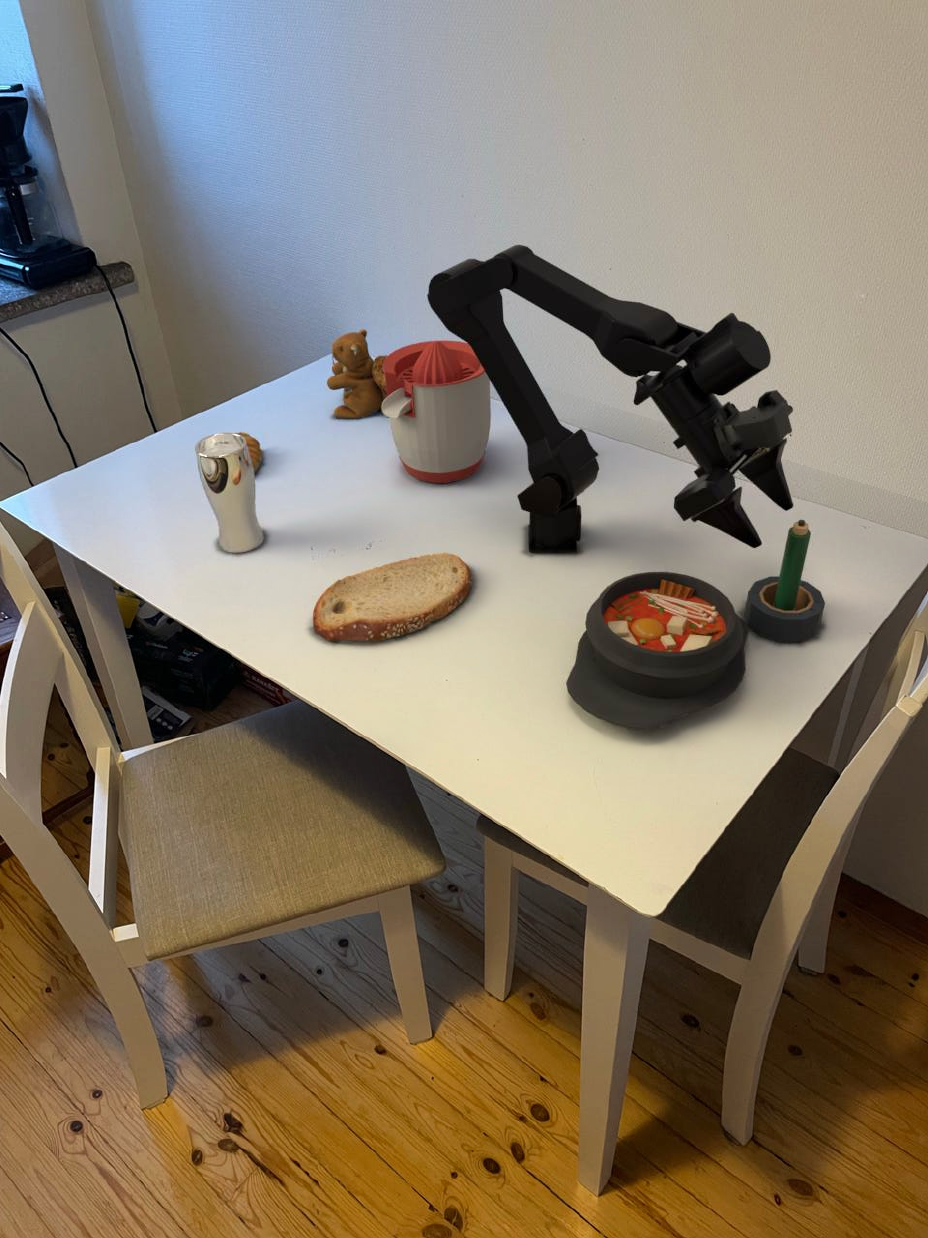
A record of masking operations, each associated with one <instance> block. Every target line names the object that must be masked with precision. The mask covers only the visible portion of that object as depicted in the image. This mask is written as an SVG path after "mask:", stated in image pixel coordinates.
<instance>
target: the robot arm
mask: <svg viewBox="0 0 928 1238" xmlns="http://www.w3.org/2000/svg"><path fill="white" fill-rule="evenodd" d="M504 289H506V290H508V291H510V292H512V293H513V294H515V295H517V296H519V297H520V298H522V299H524V300H525V301H527V302H529V303H531V304H533V305H534V306H536V307H537V308H539V309H541V310H543V311H544V312H546V313H548V314H550V315H551V316H553V317H555V318H556V319H558V320H559V321H561V322H563V323H565V324H567V325H568V326H570V327H571V328H574V329H576V330H577V331H579V332H580V333H582V334H583V335H585V336H587V337H588V338H589V339H590V340H591V341H593V344H594V345H595V347H596V348H597V350H598V352H599V354H600V355H601V357H603V358H604V359H605V360H606V361H608V362H609V363H610V364H611V365H612V366H614V367H615V368H616V369H617V370H618V371H619V372H621V373H622V374H624V375H625V376H628V377H631V378H637V380H636V381H635V384H636V387H635V388H636V389H635V393H634V397H633V404H634V405H635V406H640V405H641V404H642V403H644V402H645V401H646V400H648V399H649V398H650V399H651V400H652V401H653V403H654V404H655V406H656V407H657V408H658V409H659V412H660V413H661V414H662V415H663V417H664V418H665V419H666V421H667V422H668V424H669V426H671V428H672V430H673V431H674V433H675V434H676V435H677V437H676V438H675V440H673V442H672V444H673V445H674V447H675V448H676V449H677V450H679V449H681V448H682V447H684V446H685V448H686V450H687V451H688V452H689V454H690V455H691V456H692V458H693V460H694V461H695V463H696V464H697V465H698V467H697V468H696V469H695V470H694V471H693V473H694V475H695V476H696V479H694V480H693V481H691V482H689V483H687V484H686V485H685V486H684V488H682V490H679V492H678V493H677V494H676V495H675V496H674V498H673V499H674V500H673V509H674V510H675V512H676V513H677V515H678V516H679V517H680V519H681V521H683V522H686V521H687V520H689V519H690V520H691V521H692V522H693V523H696V522H698V521H699V522H701V523H703V524H705V525H708V526H710V527H712V528H714V529H717V530H719V531H721V532H723V533H725V534H727V535H728V536H730V537H732V538H734V539H735V540H738V541H740V542H741V543H743V544H745V545H747V546H748V547H750V548H752V549H756V548H759V547H761V546H762V545H763V542H762V539H761V537H760V536H759V533H758V531H757V529H756V528H755V526H754V524H753V522H752V521H751V519H750V517H749V515H748V514H747V513H746V511H745V509H744V508H743V505H742V503H741V499H742V492H743V486H742V485H740V486H739V487H737V485H736V478H735V476H734V475H735V474H736V473H737V472H738V471H739V472H740V473H741V474H742V475H743V476H744V477H745V478H746V479H748V480H749V481H750V482H751V483H752V484H753V485H754V486H755V487H757V489H758V490H760V491H761V492H762V493H763V494H764V495H765V496H767V498H769V500H771V501H772V502H773V503H775V504H776V505H777V506H778V507H779V508H781V509H782V510H784V511H785V512H787V511H789V510H792V509H793V508H794V502H793V499H792V495H791V491H790V488H789V485H788V482H787V479H786V475H785V471H784V466H783V463H782V462H783V461H782V457H783V453H784V449H785V446H786V444H787V443H788V438H787V437H786V436H787V435H789V434H791V433H792V432H793V428H792V424H791V420H790V418H789V417H790V415H791V414H792V413H793V411H794V408H793V406H792V405H790V404H788V403H789V402H788V401H787V399H785V398H784V396H783V395H782V393H780V392H779V391H778V389H774V390H769V391H765V392H764V393H763V394H762V395H761V396H760V397H758V400H757V406H756V405H752V406H751V407H749V409H746V410H741V411H740V410H739V409H738V408H737V406H736V405H735V404H734V403H731V402H730V401H727V402H726V403H724V404H722V403H721V402H720V400H719V399H718V397H717V396H719V397H720V396H725V395H728V394H729V393H731V392H732V391H733V390H735V389H736V388H737V389H738V387H740V386H741V385H743V384H744V383H746V382H747V381H749V380H751V379H752V378H753V377H755V376H756V375H759V374H760V373H762V371H764V370H766V369H768V367H769V366H770V364H771V360H772V355H771V350H770V347H769V344H768V341H767V340H766V338H765V336H764V335H763V334H762V332H761V331H760V330H757V329H756V328H755V327H753V326H752V325H751V324H750V323H748V322H746V321H742V320H739V319H738V317H737V316H736V315H735V313H734V312H730V313H729V314H727V315H725V316H724V317H723V318H722V319H720V320H719V321H718V322H716V323H715V324H714V325H713V326H712V328H711V329H710V330H708V331H707V332H706V331H703V330H701V329H698V328H695V327H693V326H690V325H687V324H684V323H682V322H679V321H677V320H676V319H675V318H674V316H673V315H671V314H670V313H669V312H668V311H666V310H663V309H660V308H657V307H654V306H652V305H649V304H646V303H643V302H639V301H630V300H622V299H617V298H615V297H612V296H609V295H607V294H606V293H604V292H602V291H601V290H598V289H597V288H595V287H594V286H592V285H590V284H588V283H586V282H585V281H583V280H581V279H579V278H578V277H576V276H574V275H572V274H570V273H569V272H567V271H565V270H563V269H562V268H559V266H557V265H554V264H553V263H551V262H550V261H547V260H546V259H544V258H542V257H541V256H539V255H537V254H535V253H534V252H533V250H532V249H531V248H530V247H529V246H527V245H524V244H523V245H522V244H515V245H514V244H513V246H510V247H509V248H506V249H505V250H502V251H500V252H498V253H497V254H495V255H493V257H491V258H488V259H487V260H485V261H484V260H479V259H476V258H467V259H465V260H463V261H461V262H459V263H457V264H455V265H452V266H450V267H449V268H447V269H445V270H443V271H440V272H439V273H436V274H434V275H433V277H432V278H431V279H430V282H429V285H428V293H427V294H426V297H427V301H428V304H429V306H430V308H431V310H432V311H433V312H434V314H435V315H436V317H437V319H439V320H440V323H442V325H443V326H444V327H445V329H446V330H447V331H448V332H450V333H451V334H453V335H454V336H456V337H457V338H459V339H461V340H463V342H464V343H468V344H469V345H470V346H471V348H472V350H473V351H474V353H475V355H476V357H477V358H478V360H479V362H480V364H481V365H482V367H483V369H484V371H485V372H486V374H487V376H488V378H489V379H490V384H492V386H493V388H494V390H495V391H496V393H497V396H498V397H499V398H500V400H501V401H502V404H503V406H504V407H505V409H506V411H507V413H508V414H509V416H510V418H511V420H512V422H513V424H514V425H515V426H516V428H517V430H518V432H519V433H520V436H521V437H522V439H523V441H524V443H525V445H526V453H527V454H526V455H527V471H528V473H529V475H530V477H531V480H532V483H531V484H530V485H528V486H527V487H526V488H525V489H523V490H522V491H521V492H519V494H517V500H518V502H519V506H520V509H521V510H522V511H524V512H527V513H529V514H528V517H529V518H528V519H529V520H528V521H529V524H528V532H527V533H528V534H527V535H528V536H527V537H528V539H527V540H528V543H527V546H528V549H527V550H528V552H529V553H577V552H578V542H580V540H581V539H582V506H581V505H580V504H578V497H579V496H580V495H581V494H583V493H584V492H585V491H586V490H587V489H588V488H589V487H590V486H592V485H593V484H594V483H595V481H597V479H598V475H599V471H600V466H599V465H600V464H599V462H598V460H597V457H598V456H599V453H598V452H597V451H596V450H595V449H594V447H593V446H592V444H591V443H590V440H589V438H588V435H587V433H586V432H585V431H584V429H582V428H579V429H578V430H576V431H575V432H573V431H572V430H570V429H568V428H567V427H565V426H564V425H563V424H562V423H561V422H560V421H559V419H558V417H557V415H556V413H555V412H554V410H553V408H552V406H551V405H550V402H549V401H548V399H547V397H546V396H545V394H544V392H543V390H542V389H541V386H540V385H539V383H538V381H537V380H536V378H535V376H534V374H533V373H532V371H531V369H530V367H529V366H528V364H527V362H526V359H525V358H524V357H523V355H522V353H521V351H520V349H519V347H518V345H517V344H516V342H515V341H514V339H513V337H512V335H511V333H510V332H509V330H508V328H507V326H506V323H505V320H504V303H503V301H504V300H503V294H502V293H501V291H502V290H504ZM681 361H684V362H685V365H683V366H682V365H680V364H679V363H681ZM650 372H656V374H655V375H649V373H650ZM639 377H640V378H639Z"/></svg>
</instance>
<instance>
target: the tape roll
mask: <svg viewBox="0 0 928 1238" xmlns="http://www.w3.org/2000/svg"><path fill="white" fill-rule="evenodd" d="M778 580H779V575H778V576H767V577H765V578H761V579H759V580H756V581H754V583H753V584H752V586H751V587H750V588H749V590H748V592H747V597H746V603H745V609H744V617H745V618H744V619H745V622H746V624H747V627H748V629H750V630H751V631H753V632H754V633H755V634H756V635H758V636H759V637H760V638H761V637H762V638H764V639H767V640H769V641H772V642H777V643H781V644H783V643H788V644H789V643H790V644H791V643H793V644H795V643H797V644H799V643H802V642H803V641H807V640H809V639H811V638H813V637H815V636H816V633H817V631H818V630H819V628H820V626H821V623H822V618H823V614H824V610H825V606H826V601H825V599H824V597H823V594H822V591H821V590H820V589H818V588H817V587H815V586H813V584H811V583H809V582H808V581H805V580H802V579H801V581H800V586H799V591H798V595H797V600H796V604H795V611H784V610H781V609H777V608H774V607H773V603H774V600H775V595H776V590H777V585H778Z"/></svg>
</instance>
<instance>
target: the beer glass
mask: <svg viewBox="0 0 928 1238" xmlns="http://www.w3.org/2000/svg"><path fill="white" fill-rule="evenodd" d="M236 433H237V432H219V433H214V434H211V435H207V436H205V437H203V438H201V439H199V441H198V442H197V443H196V444H195V446H194V450H195V455H196V456H195V457H196V462H197V470H198V474H199V479H200V482H201V486H202V489H203V491H204V494H205V497H206V498H207V500H208V503H209V505H210V507H211V509H212V512H213V514H214V516H215V518H216V522H217V526H218V541H219V542H218V543H219V546H220V548H221V549H222V550H223V551H226V552H228V553H232V554H242V553H246V552H250V551H253V550H254V549H257V548H258V547H259V546H261V545H262V543H263V541H264V539H265V536H264V532H263V530H262V527H261V525H260V523H259V520H258V517H257V509H256V477H255V476H256V475H255V473H254V469H253V465H252V460H251V457H250V453H249V450H248V447H247V443H246V439H245V438H244V437H243V436H241V435H239V434H236Z"/></svg>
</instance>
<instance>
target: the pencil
mask: <svg viewBox="0 0 928 1238" xmlns="http://www.w3.org/2000/svg"><path fill="white" fill-rule="evenodd" d="M809 526H810V525H809V523H807V522H806V520H804V519H798V521H795V522H794V523H793V525H792V526H791V527H789V529H788V532H787V536H786V541H785V545H784V550H783V556H782V561H781V566H780V571H779V574H778V576H779V580H778V585H777V590H776V595H775V600H774V603H773V607H774V608H777V609H781V610H784V611H795V604H796V600H797V595H798V591H799V586H800V581H801V580H802V577H803V572H804V567H805V562H806V559H807V553H808V549H809V544H810V540H811V535H812V532H811V530H810V529H809Z"/></svg>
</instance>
